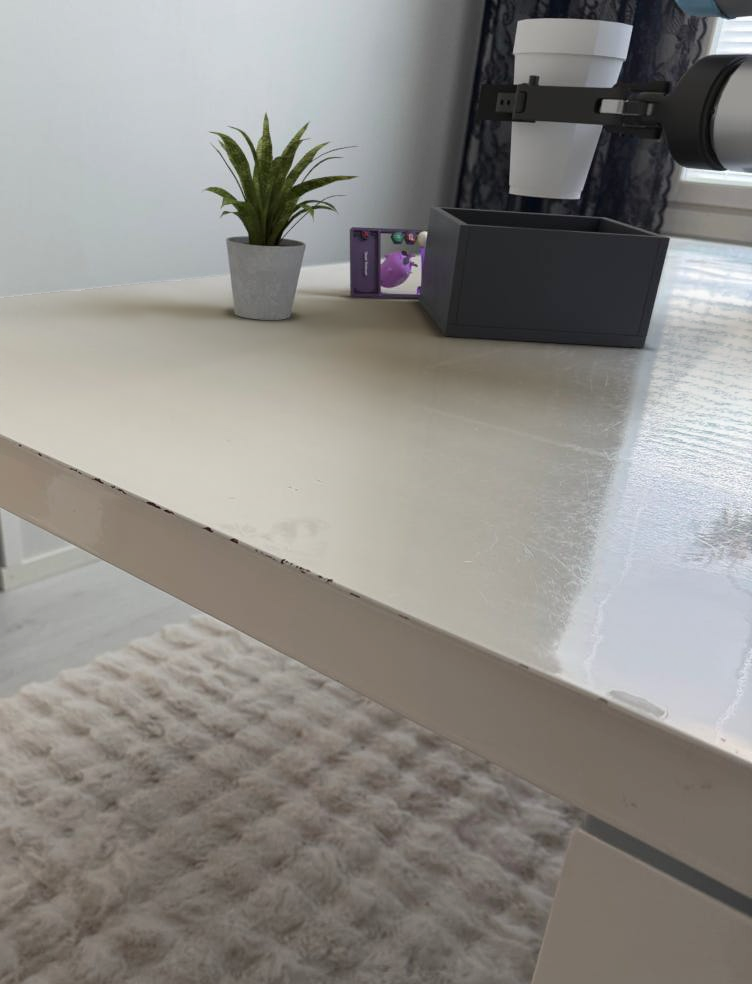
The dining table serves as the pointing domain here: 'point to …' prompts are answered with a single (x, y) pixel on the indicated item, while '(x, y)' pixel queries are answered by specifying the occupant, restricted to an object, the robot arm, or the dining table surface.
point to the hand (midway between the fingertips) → (524, 105)
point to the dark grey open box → (540, 277)
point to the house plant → (268, 223)
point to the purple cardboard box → (367, 261)
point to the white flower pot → (561, 62)
